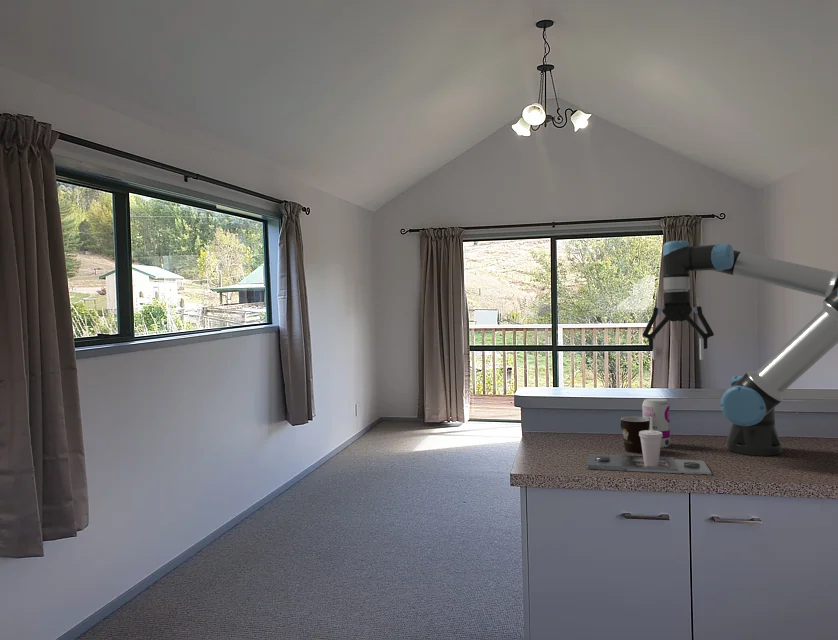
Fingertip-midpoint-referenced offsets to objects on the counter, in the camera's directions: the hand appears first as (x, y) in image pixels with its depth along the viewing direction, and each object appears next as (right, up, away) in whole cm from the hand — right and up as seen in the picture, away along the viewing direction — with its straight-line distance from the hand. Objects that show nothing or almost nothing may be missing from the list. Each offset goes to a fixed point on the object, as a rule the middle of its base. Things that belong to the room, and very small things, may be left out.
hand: (677, 359), depth 189 cm
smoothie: (-14, -30, -15) cm, 36 cm away
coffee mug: (-11, -29, +5) cm, 32 cm away
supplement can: (-3, -29, +10) cm, 31 cm away
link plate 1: (-19, -29, -13) cm, 38 cm away
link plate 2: (-10, -29, -16) cm, 35 cm away
